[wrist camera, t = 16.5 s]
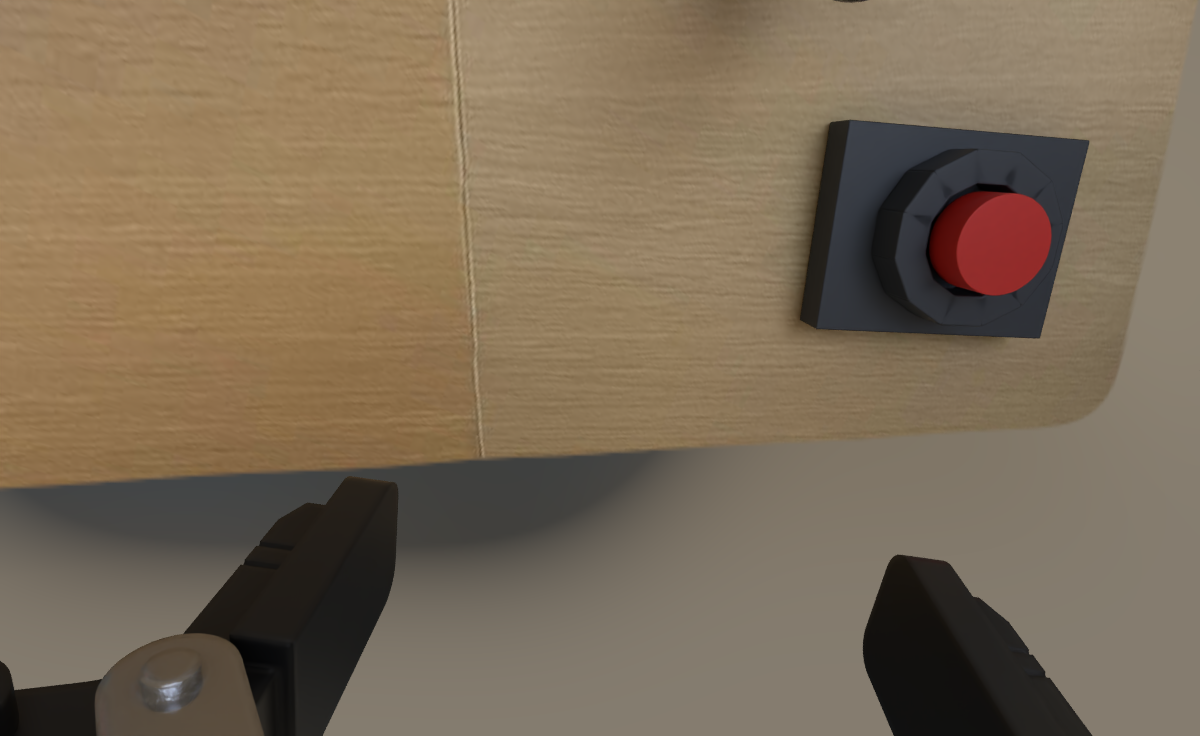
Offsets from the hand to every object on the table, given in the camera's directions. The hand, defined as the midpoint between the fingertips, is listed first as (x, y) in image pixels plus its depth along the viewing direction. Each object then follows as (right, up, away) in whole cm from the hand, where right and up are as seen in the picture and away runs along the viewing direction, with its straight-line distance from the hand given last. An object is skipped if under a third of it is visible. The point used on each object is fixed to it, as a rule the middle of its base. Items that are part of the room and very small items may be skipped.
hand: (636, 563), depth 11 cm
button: (+13, +8, +15) cm, 22 cm away
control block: (+13, +9, +18) cm, 24 cm away
